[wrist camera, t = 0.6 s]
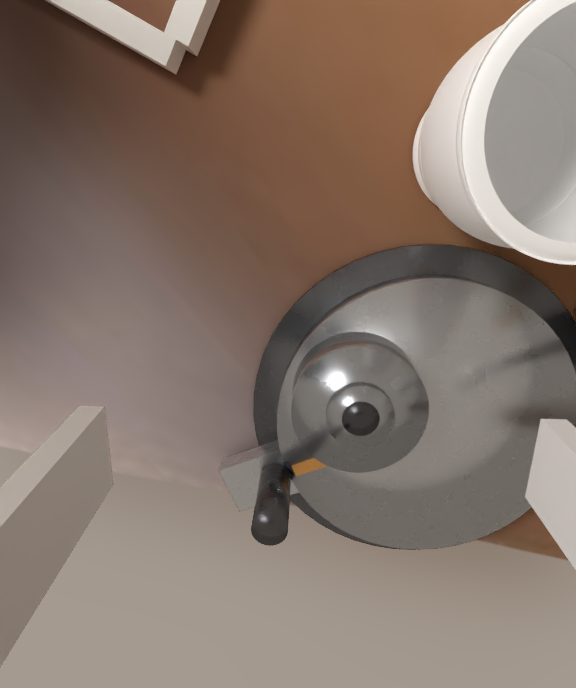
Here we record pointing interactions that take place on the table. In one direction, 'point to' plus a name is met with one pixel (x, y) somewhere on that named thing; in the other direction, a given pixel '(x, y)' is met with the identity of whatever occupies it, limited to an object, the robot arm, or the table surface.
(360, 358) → the cover
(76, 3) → the teacup corral
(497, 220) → the jar
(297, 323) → the turntable base
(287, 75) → the table surface
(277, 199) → the table surface
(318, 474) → the turntable
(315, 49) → the table surface
